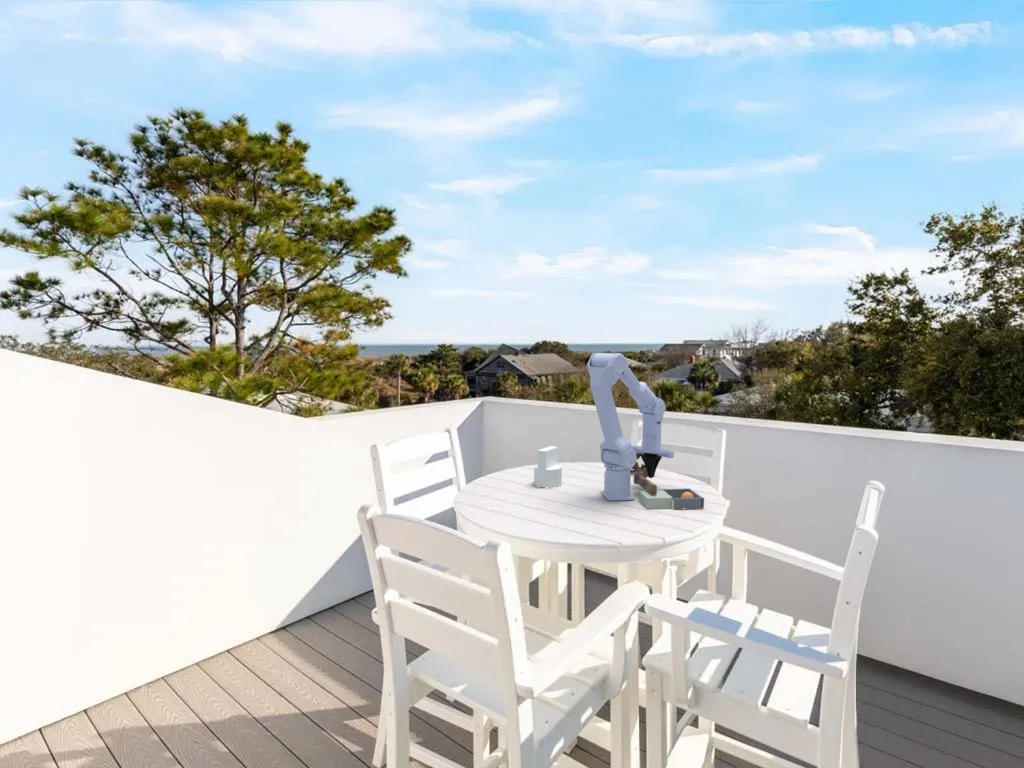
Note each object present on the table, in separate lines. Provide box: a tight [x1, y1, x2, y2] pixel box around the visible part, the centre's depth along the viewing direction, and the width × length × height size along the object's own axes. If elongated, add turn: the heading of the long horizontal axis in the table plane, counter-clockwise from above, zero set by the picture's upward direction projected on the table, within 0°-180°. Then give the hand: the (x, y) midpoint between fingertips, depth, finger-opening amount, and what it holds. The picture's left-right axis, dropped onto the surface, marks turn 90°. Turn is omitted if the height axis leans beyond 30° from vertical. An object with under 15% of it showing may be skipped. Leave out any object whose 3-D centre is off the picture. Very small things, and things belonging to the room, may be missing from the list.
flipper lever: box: [633, 468, 658, 495], centre depth 181 cm, size 23×6×3 cm, turn 173°
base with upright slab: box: [533, 445, 563, 489], centre depth 194 cm, size 9×9×12 cm
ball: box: [681, 492, 694, 498], centre depth 172 cm, size 4×4×4 cm
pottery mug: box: [631, 453, 646, 473], centre depth 209 cm, size 12×10×8 cm
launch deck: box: [638, 489, 673, 510], centre depth 171 cm, size 8×7×3 cm
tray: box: [661, 487, 705, 510], centre depth 172 cm, size 11×8×3 cm
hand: (651, 477), depth 189 cm, fingers closed
